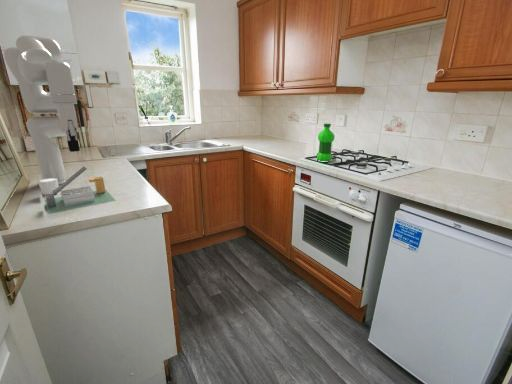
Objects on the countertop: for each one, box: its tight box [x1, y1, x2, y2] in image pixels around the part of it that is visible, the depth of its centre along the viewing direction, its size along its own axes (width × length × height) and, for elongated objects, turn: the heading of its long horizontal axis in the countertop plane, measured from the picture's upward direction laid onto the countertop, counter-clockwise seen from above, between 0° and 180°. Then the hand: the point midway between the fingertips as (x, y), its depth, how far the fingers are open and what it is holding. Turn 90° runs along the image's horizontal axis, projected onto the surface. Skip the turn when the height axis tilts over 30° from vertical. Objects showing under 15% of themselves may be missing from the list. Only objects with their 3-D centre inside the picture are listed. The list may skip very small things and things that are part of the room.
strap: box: [52, 165, 87, 196], centre depth 107 cm, size 15×4×1 cm
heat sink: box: [44, 185, 95, 208], centre depth 108 cm, size 10×15×4 cm, turn 128°
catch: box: [88, 176, 106, 193], centre depth 118 cm, size 3×5×6 cm, turn 128°
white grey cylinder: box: [37, 178, 59, 195], centre depth 119 cm, size 7×7×7 cm
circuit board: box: [44, 188, 116, 215], centre depth 111 cm, size 18×22×2 cm
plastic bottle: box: [316, 123, 335, 162], centre depth 182 cm, size 10×10×25 cm
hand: (74, 150), depth 105 cm, fingers closed
